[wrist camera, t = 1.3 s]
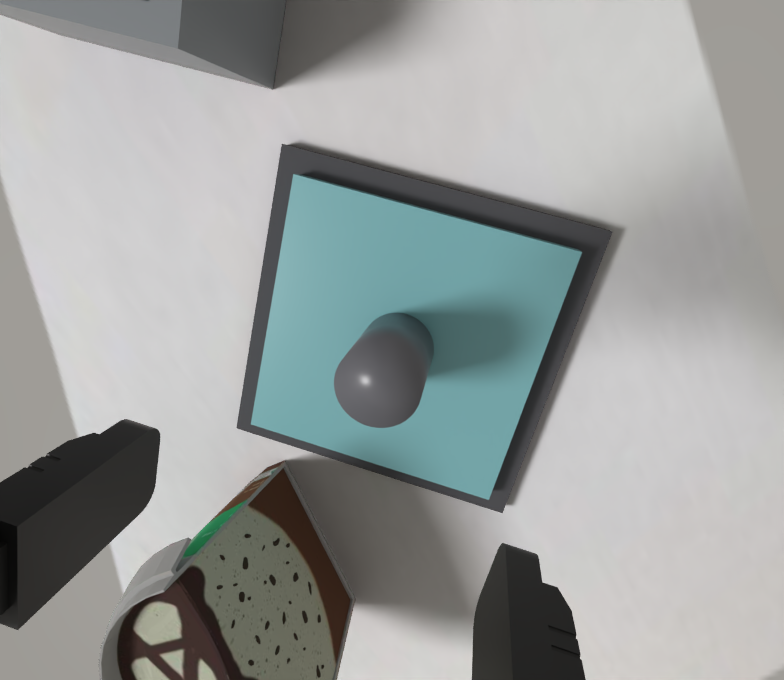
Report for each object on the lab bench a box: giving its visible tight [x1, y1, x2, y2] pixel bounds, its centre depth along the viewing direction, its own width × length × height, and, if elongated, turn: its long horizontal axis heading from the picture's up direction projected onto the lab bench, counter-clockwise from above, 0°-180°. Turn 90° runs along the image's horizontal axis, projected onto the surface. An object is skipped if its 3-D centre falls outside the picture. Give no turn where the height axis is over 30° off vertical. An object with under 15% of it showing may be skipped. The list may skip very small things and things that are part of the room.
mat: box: [237, 144, 612, 513], centre depth 23 cm, size 14×14×1 cm
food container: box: [99, 460, 355, 680], centre depth 24 cm, size 12×6×10 cm, turn 23°
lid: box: [251, 174, 582, 500], centre depth 20 cm, size 12×12×5 cm
